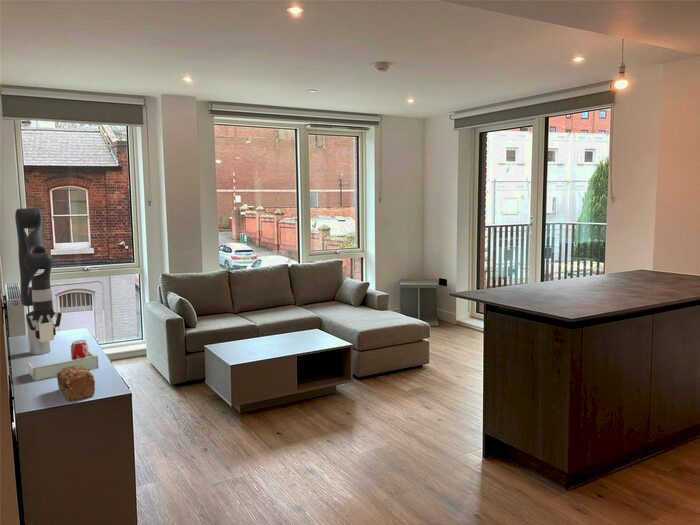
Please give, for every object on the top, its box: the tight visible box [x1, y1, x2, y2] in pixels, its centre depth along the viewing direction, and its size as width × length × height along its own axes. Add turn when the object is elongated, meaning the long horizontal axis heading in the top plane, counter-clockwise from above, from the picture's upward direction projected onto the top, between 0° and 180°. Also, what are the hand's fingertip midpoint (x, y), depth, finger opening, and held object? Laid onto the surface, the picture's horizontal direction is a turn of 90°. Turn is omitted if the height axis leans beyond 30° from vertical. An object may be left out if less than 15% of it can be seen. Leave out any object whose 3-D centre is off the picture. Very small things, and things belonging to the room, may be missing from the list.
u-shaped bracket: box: [27, 350, 100, 382], centre depth 246 cm, size 13×26×6 cm, turn 129°
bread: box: [56, 366, 96, 402], centre depth 217 cm, size 19×11×10 cm, turn 37°
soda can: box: [70, 339, 89, 360], centre depth 250 cm, size 7×7×12 cm
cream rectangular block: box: [38, 322, 55, 342], centre depth 241 cm, size 6×5×8 cm
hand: (45, 337), depth 241 cm, fingers closed on cream rectangular block, 5 cm apart
